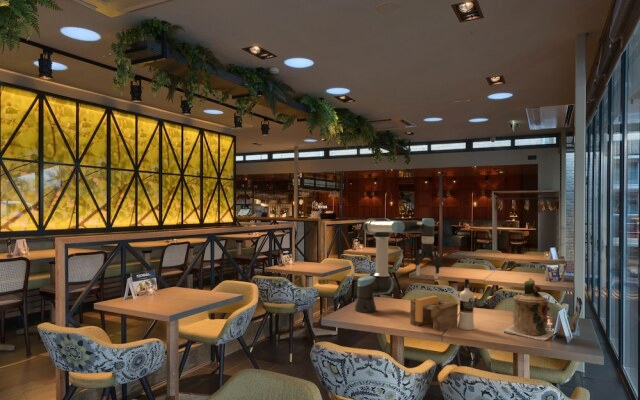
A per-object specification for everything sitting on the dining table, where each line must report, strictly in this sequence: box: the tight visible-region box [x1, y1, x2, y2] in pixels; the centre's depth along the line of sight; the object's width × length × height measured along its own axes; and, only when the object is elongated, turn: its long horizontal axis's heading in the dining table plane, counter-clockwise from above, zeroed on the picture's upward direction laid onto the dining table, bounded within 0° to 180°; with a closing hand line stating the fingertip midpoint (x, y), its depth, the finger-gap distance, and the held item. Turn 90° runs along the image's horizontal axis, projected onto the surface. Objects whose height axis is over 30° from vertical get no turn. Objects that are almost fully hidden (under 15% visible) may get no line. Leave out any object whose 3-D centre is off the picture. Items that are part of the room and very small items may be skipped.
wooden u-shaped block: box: [415, 295, 439, 322], centre depth 281 cm, size 4×19×13 cm, turn 133°
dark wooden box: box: [410, 299, 459, 333], centre depth 286 cm, size 22×18×14 cm
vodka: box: [457, 278, 475, 331], centre depth 280 cm, size 9×9×30 cm
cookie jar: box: [503, 277, 555, 341], centre depth 273 cm, size 25×25×32 cm
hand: (426, 277), depth 288 cm, fingers open, 13 cm apart
